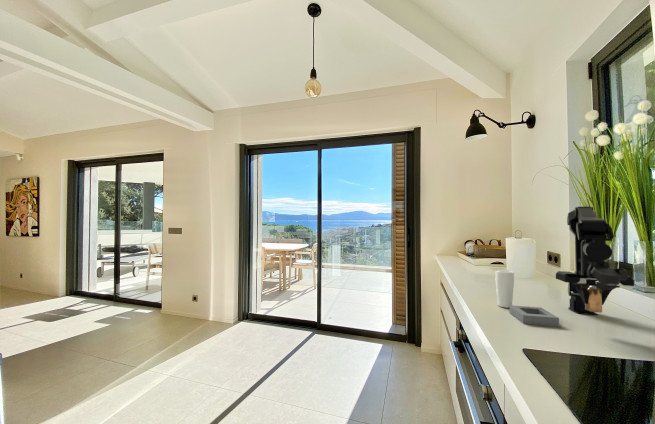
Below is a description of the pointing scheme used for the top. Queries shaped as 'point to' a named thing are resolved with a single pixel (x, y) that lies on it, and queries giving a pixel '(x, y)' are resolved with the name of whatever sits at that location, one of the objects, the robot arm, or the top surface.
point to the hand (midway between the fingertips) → (593, 304)
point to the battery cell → (594, 299)
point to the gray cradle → (534, 316)
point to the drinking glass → (504, 287)
